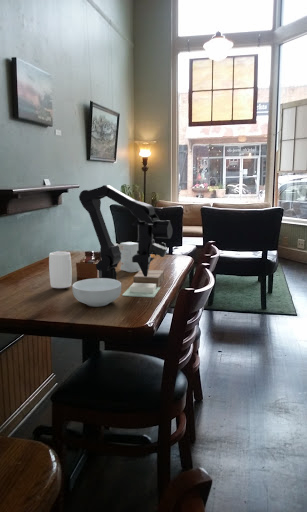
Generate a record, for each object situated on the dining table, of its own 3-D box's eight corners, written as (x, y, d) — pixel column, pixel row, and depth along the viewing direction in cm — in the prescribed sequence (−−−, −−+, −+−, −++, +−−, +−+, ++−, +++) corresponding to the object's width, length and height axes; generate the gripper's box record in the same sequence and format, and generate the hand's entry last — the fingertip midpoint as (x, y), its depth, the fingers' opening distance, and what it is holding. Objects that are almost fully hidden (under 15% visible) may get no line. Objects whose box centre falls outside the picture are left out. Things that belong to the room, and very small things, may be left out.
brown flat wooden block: (158, 287, 168) (158, 277, 167) (133, 286, 170) (133, 276, 169) (164, 279, 181) (164, 270, 181) (141, 278, 183) (141, 269, 182)
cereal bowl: (63, 303, 147) (62, 283, 146) (101, 294, 159) (101, 275, 158) (92, 314, 135) (92, 292, 134) (131, 303, 147) (131, 283, 146)
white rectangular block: (156, 283, 165) (156, 288, 165) (133, 282, 166) (133, 287, 167) (153, 287, 159) (153, 292, 159) (129, 286, 161) (130, 291, 161)
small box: (141, 271, 198) (141, 243, 196) (130, 272, 194) (130, 244, 192) (131, 268, 205) (130, 241, 202) (120, 270, 201) (119, 242, 198)
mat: (153, 297, 154) (153, 296, 154) (121, 295, 156) (121, 295, 156) (160, 287, 168) (160, 287, 168) (131, 286, 170) (131, 285, 170)
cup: (50, 292, 162) (48, 255, 159) (49, 286, 170) (48, 251, 167) (73, 290, 164) (71, 254, 162) (71, 285, 172) (70, 250, 170)
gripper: (161, 241, 154) (161, 282, 157) (169, 234, 172) (169, 272, 175) (131, 240, 156) (132, 281, 159) (143, 233, 174) (143, 271, 177)
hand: (145, 276), depth 168 cm, fingers closed
